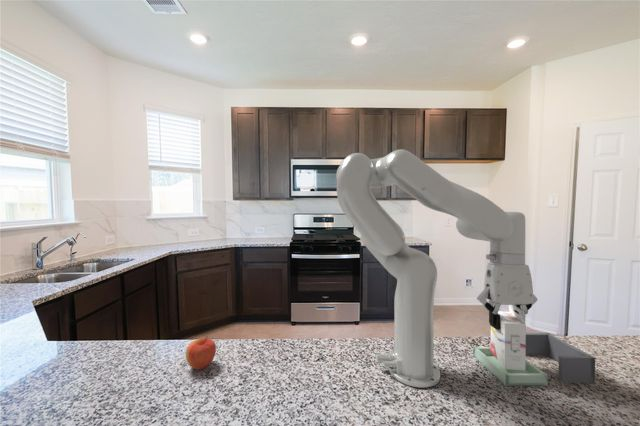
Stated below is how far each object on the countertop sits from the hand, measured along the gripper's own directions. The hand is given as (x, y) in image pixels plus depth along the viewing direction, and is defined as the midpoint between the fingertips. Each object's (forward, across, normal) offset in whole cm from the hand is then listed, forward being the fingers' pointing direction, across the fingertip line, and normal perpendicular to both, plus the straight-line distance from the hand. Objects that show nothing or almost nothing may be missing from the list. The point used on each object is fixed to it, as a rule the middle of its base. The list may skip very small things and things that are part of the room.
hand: (506, 326), depth 69 cm
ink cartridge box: (+9, 0, 0) cm, 9 cm away
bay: (+11, +13, +1) cm, 17 cm away
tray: (+11, 0, 0) cm, 11 cm away
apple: (+11, -81, +2) cm, 82 cm away
